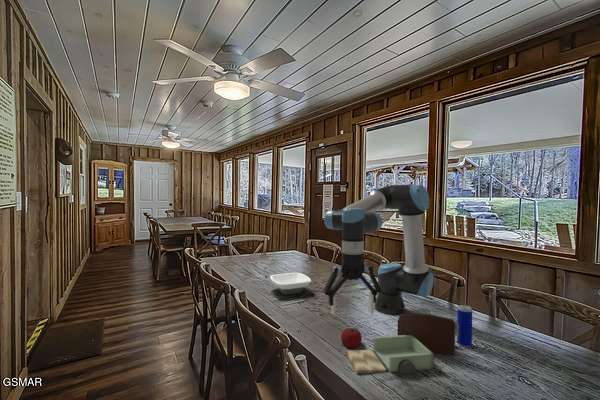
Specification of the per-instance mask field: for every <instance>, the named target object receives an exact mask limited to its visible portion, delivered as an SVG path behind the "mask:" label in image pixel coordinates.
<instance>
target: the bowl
mask: <svg viewBox="0 0 600 400" xmlns="http://www.w3.org/2000/svg"><path fill="white" fill-rule="evenodd" d="M269 278H270V280H271V281H272V282H273V284H274V285H275V286H276V287H277V289H278V290H279V292H280V293H281V294H282V293H283V294H282V295H284V294H285V295H284V296H288V295H287V294H293V295H297V294H296V293H299V294H301V293H302V292H303V290H304V289H305V288H306V287H308V285H309V284H310V283H311V282H312V280H311V278H310V277H309V276H308V275H306V274H303V273H301V272H287V273H286V272H285V273H276V274H271V275H269Z"/></svg>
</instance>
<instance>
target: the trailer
mask: <svg viewBox="0 0 600 400" xmlns="http://www.w3.org/2000/svg"><path fill="white" fill-rule="evenodd" d="M373 350H374V352H375V353H376V354H377V356H378V357H379V358H380V359H381V361H382V362H383V363H384V365H385V366H386V367H387V369H388V370H389V371H388V372H389V373H400V374H401V376H408V375H412V376H413V375H415V374H416V371H421V370H423V371H424V370H433V369H434V353H433V352H432V351H431V350H428V349H427V348H426V347H425V346H424V345H423V344H422V343H420V342H419V341H418V340H417V339H416V338H415V337H414V336H413V335H399V336H398V335H389V336H388V335H387V336H376V337H375V336H374V337H373Z"/></svg>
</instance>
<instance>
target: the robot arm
mask: <svg viewBox="0 0 600 400" xmlns="http://www.w3.org/2000/svg"><path fill="white" fill-rule="evenodd" d="M429 207H430V196H429V192H428V190H427V188H426V186H424V185H422V184H411V183H410V184H389V185H385V186H383V187H380V188H378V189H375V190H373V191H371V192H370V193H369V194H368V196H365V197H364V198H361V199H359V200H357V201H356V202H353V203H351V204H350V205H349V204H348V206H344V207H343V208H340V209H339V210H328V211H327V212H326V213H325V215H324V218H323V222H324V225H325V227H326V228H327V229H330V230H334V231H341V236H342V237H341V251H342V253H341V266H340V267H338V266H336V265H334V266H332V270H331V271H332V272H331V274H330V276H329V278H328V281H327V283H326V285H325V286H324V289H323V293H324V295H325V296H328V304H329V306H330V307H331V308H330V309H331V310H330V312H331V315H332V316H333V317H336V312H337V311H336V309H337V308H336V307H337V306H336V305H337V303H336V302H337V300H336V299H337V298H336V295H335V294H337V292H338V291H339V290H340V288H341V287H342V285H343V284H344V283H345V282H347V281H348V280H349V281H353V280H355V281H357V280H359V279H360V281H362V282H363V284H364V285H365V287H367V289H369V291H370V292H368V303H367V304H368V312H369V313H370V314H373V315H374V309H375V310H376V311H377V312H379V313H382V314H387V315H401V314H404V313H405V311H406V305H405V302H404V299H403V296H402V293H405V294H408V295H414V296H417V297H422V298H427V297H428V296H429V295H430V294H431V292H432V290H433V287H434V281H435V276H434V274H433V272H429V270H430V269H429V267H428V266H427V264H426V262H425V246H424V231H423V216H424V215H425V213H426V211H427V210H428V209H429ZM389 209H390V210H397V211H398V215H399V216H400V217H401V218H402V230H403V232H402V233H403V244H404V245H403V246H404V259H405V264H404V265H402V264H400V263H393V262H392V263H383V264H381V265H379V267H378V271H377V277H376V275H375V273H374V268H373V266H371V265H370V264H367V265H366V266H365V264H364V262H365V261H364V260H365V258H364V257H365V254H364V252H365V234H370V233H375V232H377V231H379V230H380V229H381V228H382V226H383V220H382V219H383V218H382V217H381V215H380V214H379V213H377V211H378V212H380V211H382V210H389ZM340 272H341V274H340ZM364 272H366V273H367V274H368V277H369V278H370V280H371V282H372V284H373V286H372V285H371V284H370V282H369V281H368V280H367V279H366V277H365V276H364V275H363V274H364ZM339 274H340V276H339V279H337V277H338V275H339ZM336 279H337V281H336ZM335 281H336V282H335Z"/></svg>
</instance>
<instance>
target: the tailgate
mask: <svg viewBox="0 0 600 400" xmlns="http://www.w3.org/2000/svg"><path fill="white" fill-rule="evenodd" d="M345 354H346V356H347V358H348V360H349V362H350V363H351V365H352V367H353V369H354V370H355V372H356V374H371V373H372V374H373V373H384V372H390V371H389V370H388V369H387V367H386V366H385V365H384V363H383V362H382V361H381V359H380V358H379V357H378V355H377V354H376V353H375V352H374V349H364V350H363V349H361V350H360V349H353V350H352V349H351V350H349V349H347V350H345Z"/></svg>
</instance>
